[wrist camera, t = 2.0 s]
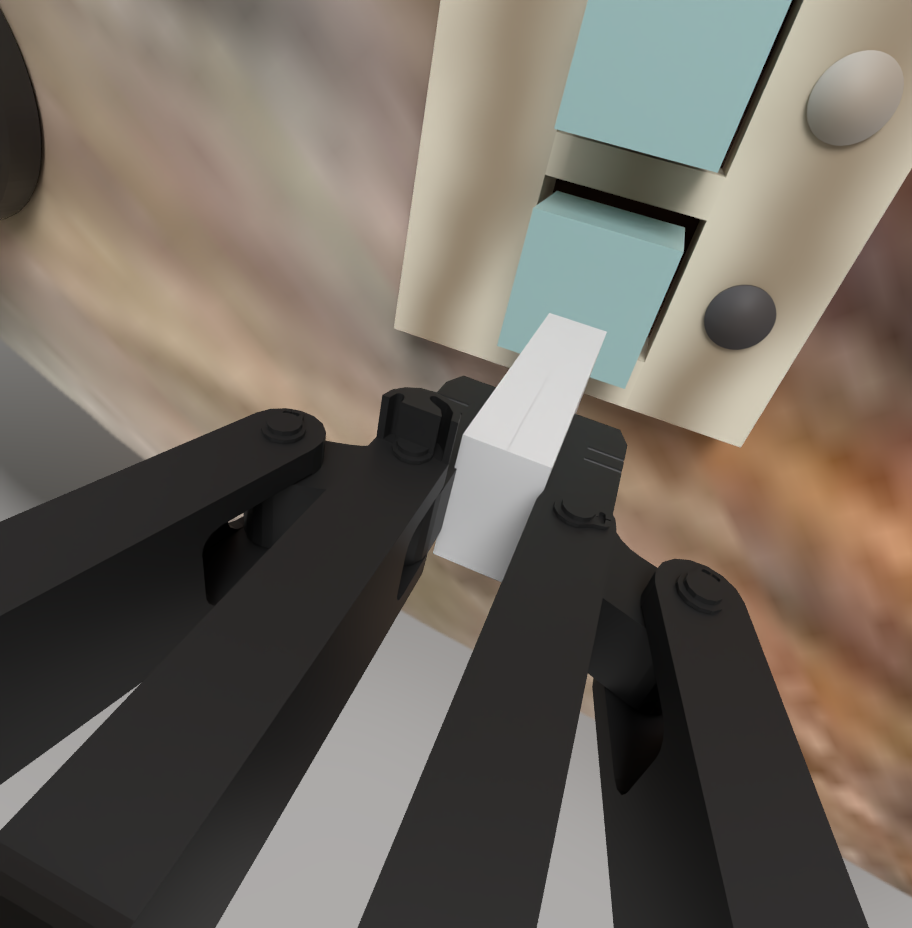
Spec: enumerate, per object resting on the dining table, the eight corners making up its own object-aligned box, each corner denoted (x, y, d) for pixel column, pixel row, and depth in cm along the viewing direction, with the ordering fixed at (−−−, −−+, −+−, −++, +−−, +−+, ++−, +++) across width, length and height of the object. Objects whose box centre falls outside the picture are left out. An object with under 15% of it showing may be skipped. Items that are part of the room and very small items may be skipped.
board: (418, 309, 29) (392, 329, 26) (566, -576, 15) (539, -717, 12) (736, 415, 26) (741, 449, 24) (1285, -529, 12) (1443, -695, 10)
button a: (522, 312, 24) (496, 345, 21) (557, 190, 21) (533, 207, 18) (634, 348, 23) (624, 388, 20) (685, 227, 20) (683, 252, 17)
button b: (576, 123, 20) (554, 128, 17) (627, -60, 17) (613, -95, 14) (713, 160, 19) (717, 172, 16) (791, -26, 16) (815, -54, 13)
